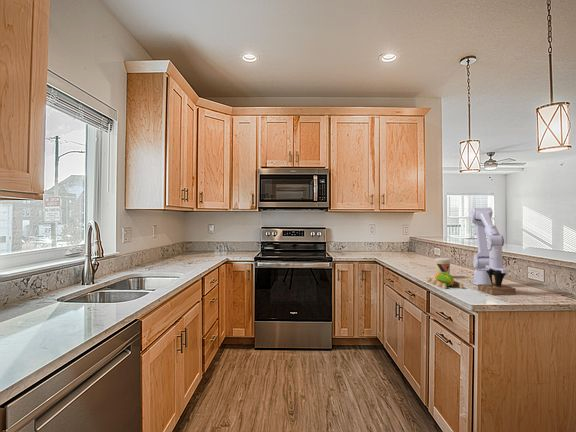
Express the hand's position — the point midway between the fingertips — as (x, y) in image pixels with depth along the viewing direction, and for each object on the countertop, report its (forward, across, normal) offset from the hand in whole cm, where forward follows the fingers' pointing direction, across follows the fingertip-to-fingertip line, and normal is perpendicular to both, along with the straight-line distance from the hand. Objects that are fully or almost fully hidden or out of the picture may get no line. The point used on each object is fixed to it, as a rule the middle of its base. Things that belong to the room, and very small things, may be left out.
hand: (496, 285), depth 175 cm
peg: (+2, 0, 0) cm, 2 cm away
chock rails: (+4, -21, -17) cm, 27 cm away
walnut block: (+4, 0, 0) cm, 4 cm away
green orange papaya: (+4, -21, -18) cm, 28 cm away
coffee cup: (+4, -44, -7) cm, 45 cm away
